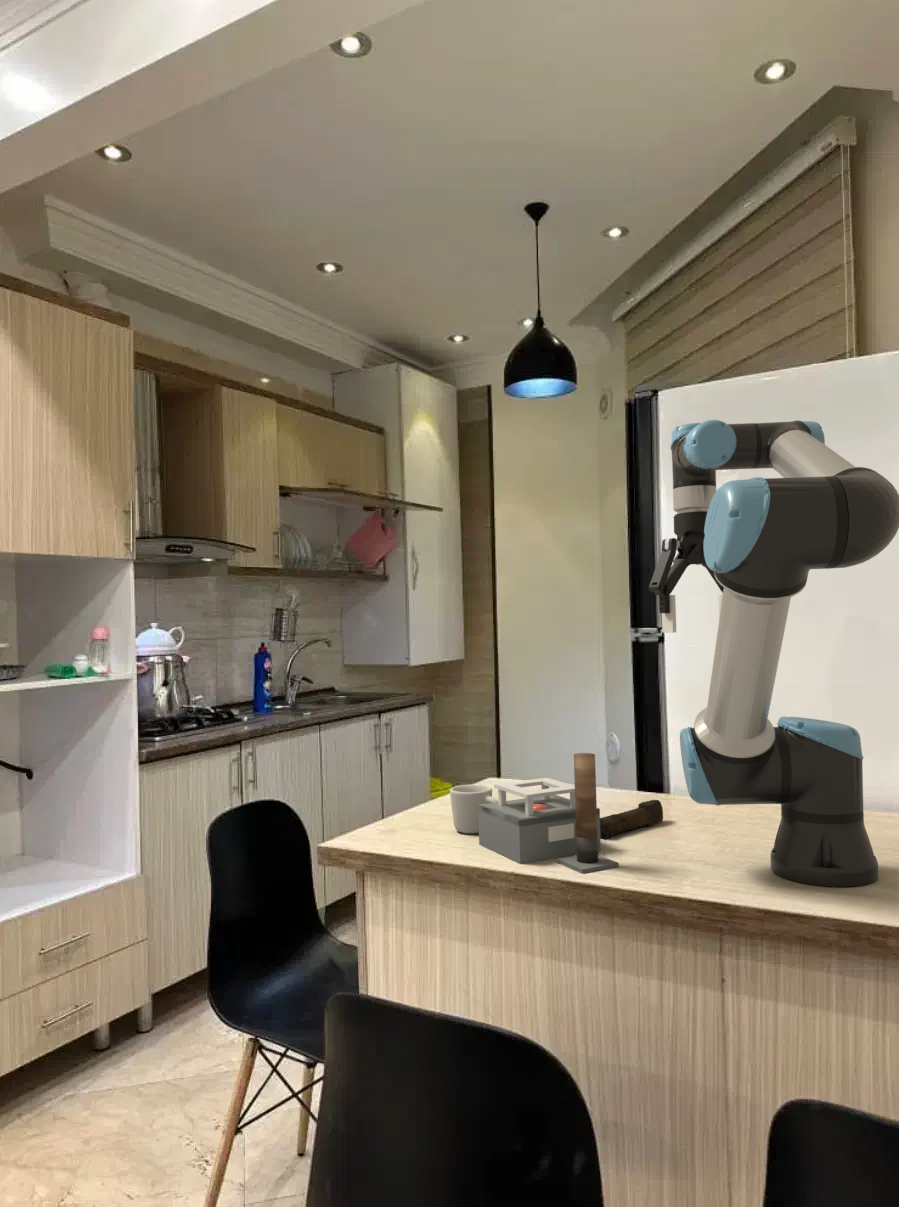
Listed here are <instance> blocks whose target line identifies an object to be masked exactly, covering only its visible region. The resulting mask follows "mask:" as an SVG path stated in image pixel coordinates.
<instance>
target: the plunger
mask: <svg viewBox="0 0 899 1207" xmlns="http://www.w3.org/2000/svg"><path fill="white" fill-rule="evenodd" d="M545 809H547V806H546V805H544V804H533V811H538V810H545Z"/></svg>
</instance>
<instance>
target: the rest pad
mask: <svg viewBox="0 0 899 1207" xmlns="http://www.w3.org/2000/svg"><path fill="white" fill-rule="evenodd" d="M556 860H557V862H556V863H557V864H560V865H562V866H564V867H567V868H570V869H572V870H574V871H576V872H578V873H581V874H586V873H591V872H597V871H603V870H607V869H613V868H617V867H618V868H619V866H620V864H619V862H618V861H615V860H612V859H609V858H608V857H605V856H602V855H601V854H598V862H596V863H591V864H586V863H580V862H578V861H577V854H575V855H573V856H572V855H569V856H564V857H558V858H557V859H556Z"/></svg>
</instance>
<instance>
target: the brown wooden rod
mask: <svg viewBox="0 0 899 1207" xmlns="http://www.w3.org/2000/svg"><path fill="white" fill-rule="evenodd" d="M596 774H597V772H596V754H595V753H591V752H589V753H588V752H580V753H579V752H578V753H574V754H573V775H574V776H573V777H574V786H575V813H576V846H577V854H576V855H577V861H578V862H580V863H586V864H591V863H596V862H598V855H599V850H598V835H597V808H598V807H597V806H598V805H597V804H598V803H597V780H596V778H597V776H596Z"/></svg>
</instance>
